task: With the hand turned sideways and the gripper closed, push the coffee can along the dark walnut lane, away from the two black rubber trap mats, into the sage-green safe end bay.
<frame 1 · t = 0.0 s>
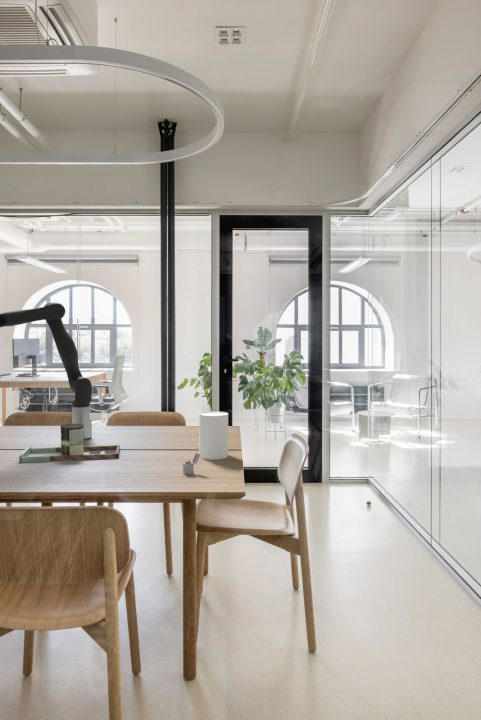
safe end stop: (38, 453, 232), on the table
canister: (213, 456, 236), on the table
coffee can: (72, 455, 235), on the table
walnut lane: (72, 455, 235), on the table
trap mats: (102, 453, 237), on the table
lighter: (191, 473, 207), on the table
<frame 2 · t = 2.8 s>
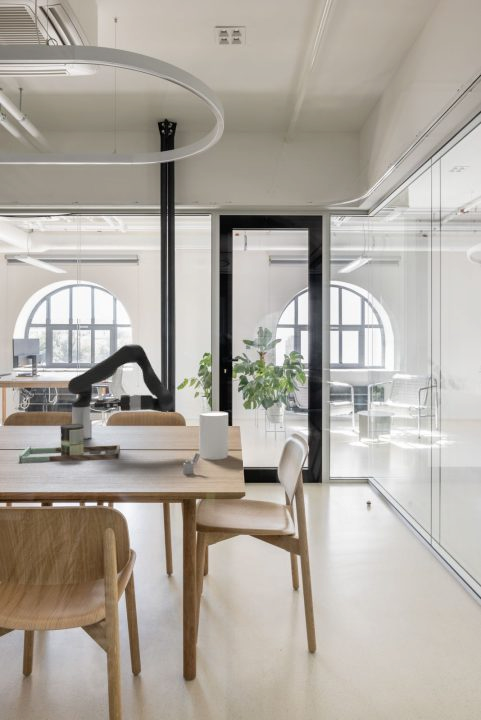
hand: (95, 403, 236), 24 cm above the table, tool horizontal, fingers open, 8 cm apart
nothing on the table moved.
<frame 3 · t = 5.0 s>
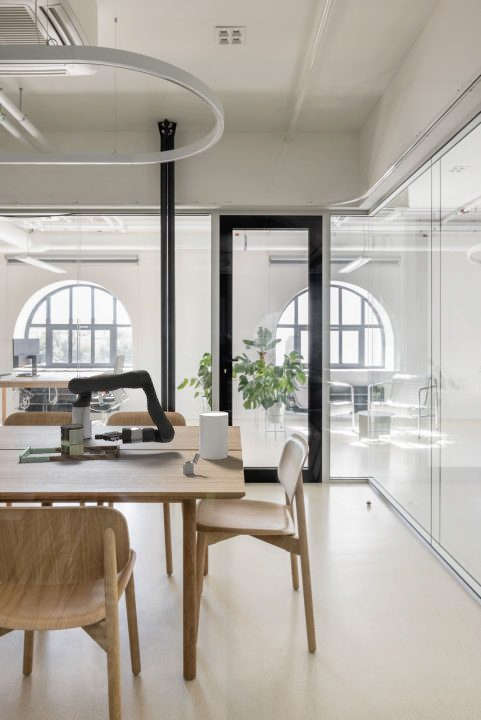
hand: (94, 437, 236), 8 cm above the table, tool horizontal, fingers closed
nothing on the table moved.
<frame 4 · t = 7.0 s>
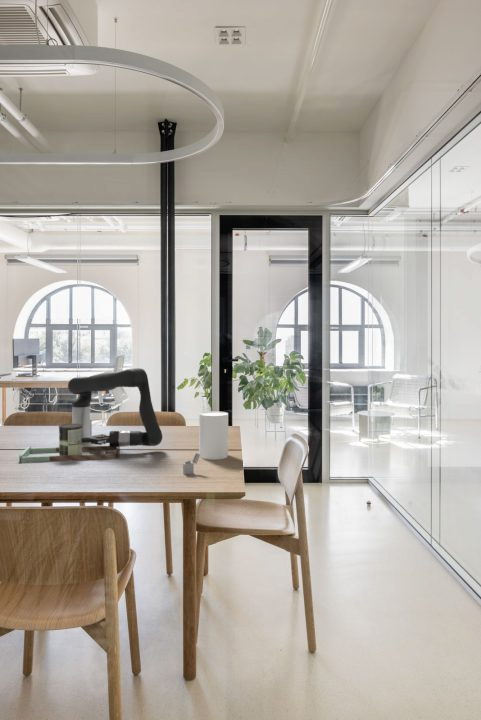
hand: (81, 440, 235), 7 cm above the table, tool horizontal, fingers closed
coffee can: (70, 455, 235), on the table, touching gripper
everything else where it was.
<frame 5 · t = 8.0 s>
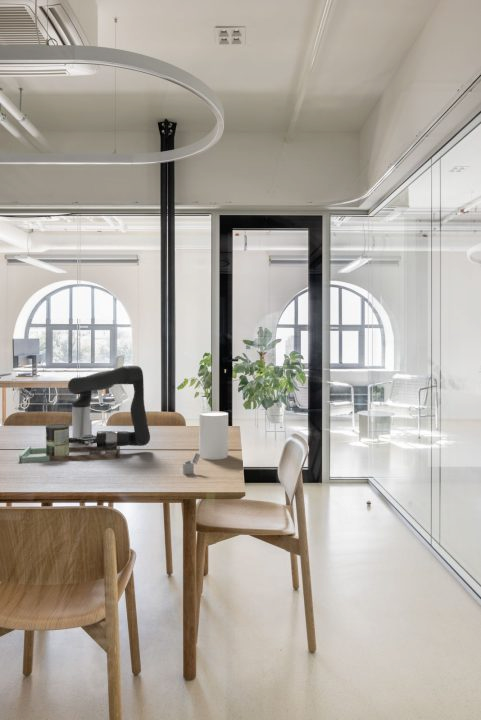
hand: (68, 440, 234), 7 cm above the table, tool horizontal, fingers closed
coffee can: (57, 456, 234), on the table, touching gripper
everything else where it was.
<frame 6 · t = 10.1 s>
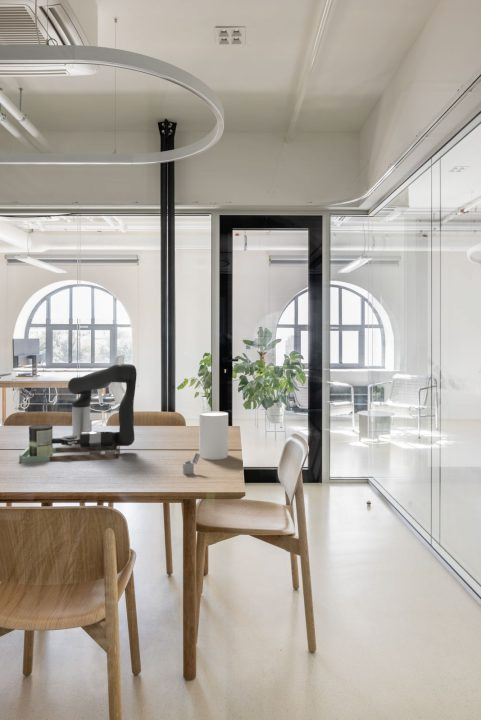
hand: (52, 440, 233), 7 cm above the table, tool horizontal, fingers closed
coffee can: (41, 456, 232), on the table, touching gripper
everything else where it was.
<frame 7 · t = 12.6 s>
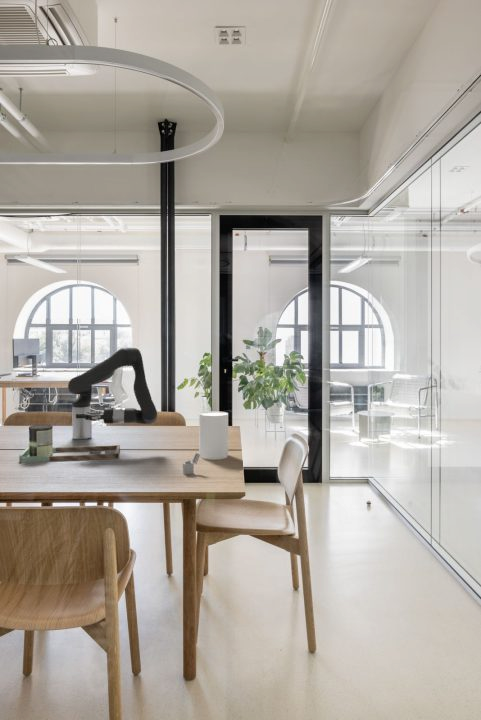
hand: (76, 415, 234), 19 cm above the table, tool horizontal, fingers closed
coffee can: (41, 457, 232), on the table
everything else where it was.
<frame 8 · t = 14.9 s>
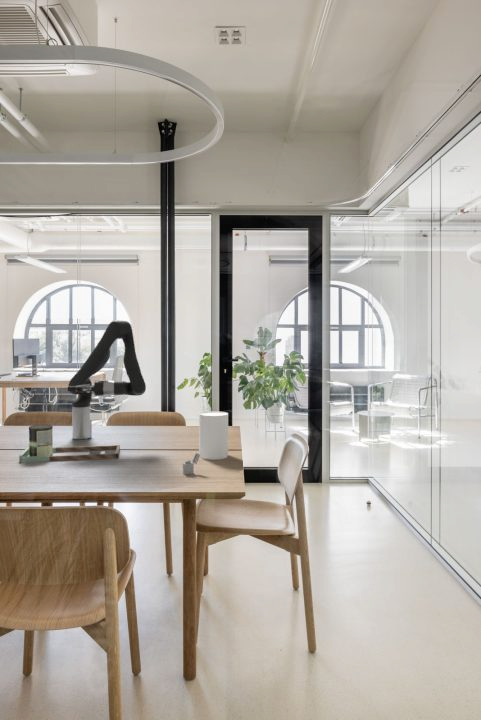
hand: (67, 388, 245), 30 cm above the table, tool horizontal, fingers closed
nothing on the table moved.
at the end: coffee can inside the target area (0.3 cm from its centre), on the table; coffee can tilted 0°; coffee can moved 13.8 cm from its start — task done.
